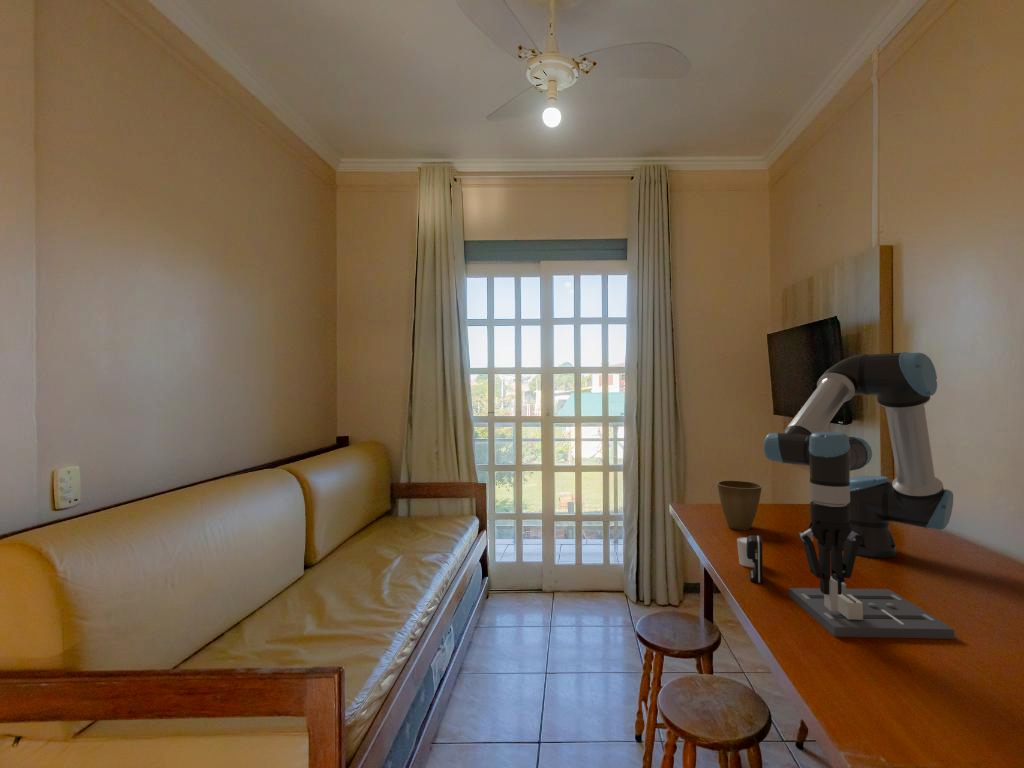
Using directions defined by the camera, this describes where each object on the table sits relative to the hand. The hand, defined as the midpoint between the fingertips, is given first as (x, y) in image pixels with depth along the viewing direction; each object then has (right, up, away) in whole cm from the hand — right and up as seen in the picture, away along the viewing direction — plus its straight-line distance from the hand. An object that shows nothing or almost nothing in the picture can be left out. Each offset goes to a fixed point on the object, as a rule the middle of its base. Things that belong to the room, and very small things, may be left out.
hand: (831, 608), depth 111 cm
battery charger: (-4, -4, +26) cm, 27 cm away
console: (+10, -4, +4) cm, 12 cm away
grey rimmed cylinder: (0, -4, +37) cm, 37 cm away
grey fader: (+7, -1, +9) cm, 12 cm away
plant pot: (+13, -3, +73) cm, 74 cm away
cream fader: (+4, -1, 0) cm, 4 cm away
